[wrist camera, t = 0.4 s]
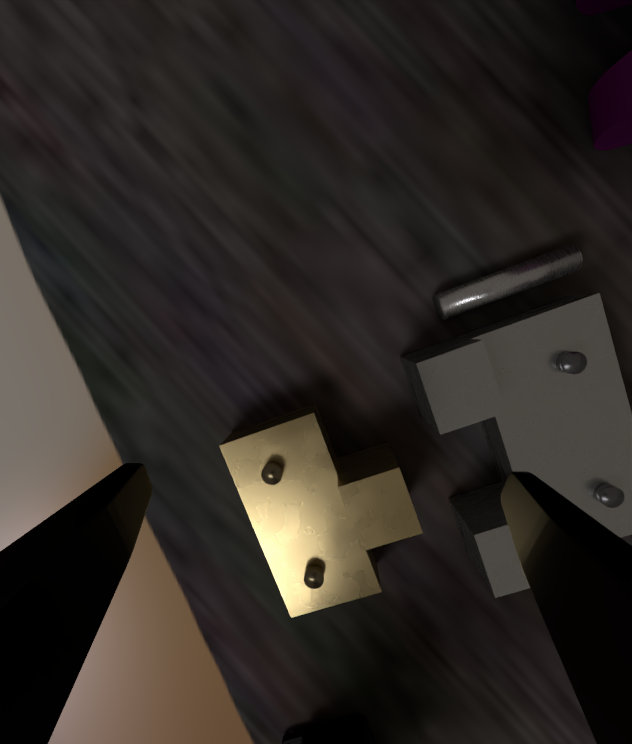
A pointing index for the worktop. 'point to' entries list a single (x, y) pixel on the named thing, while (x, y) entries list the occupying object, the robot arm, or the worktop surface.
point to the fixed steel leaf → (533, 419)
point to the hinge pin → (508, 281)
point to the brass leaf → (318, 507)
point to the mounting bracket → (610, 91)
